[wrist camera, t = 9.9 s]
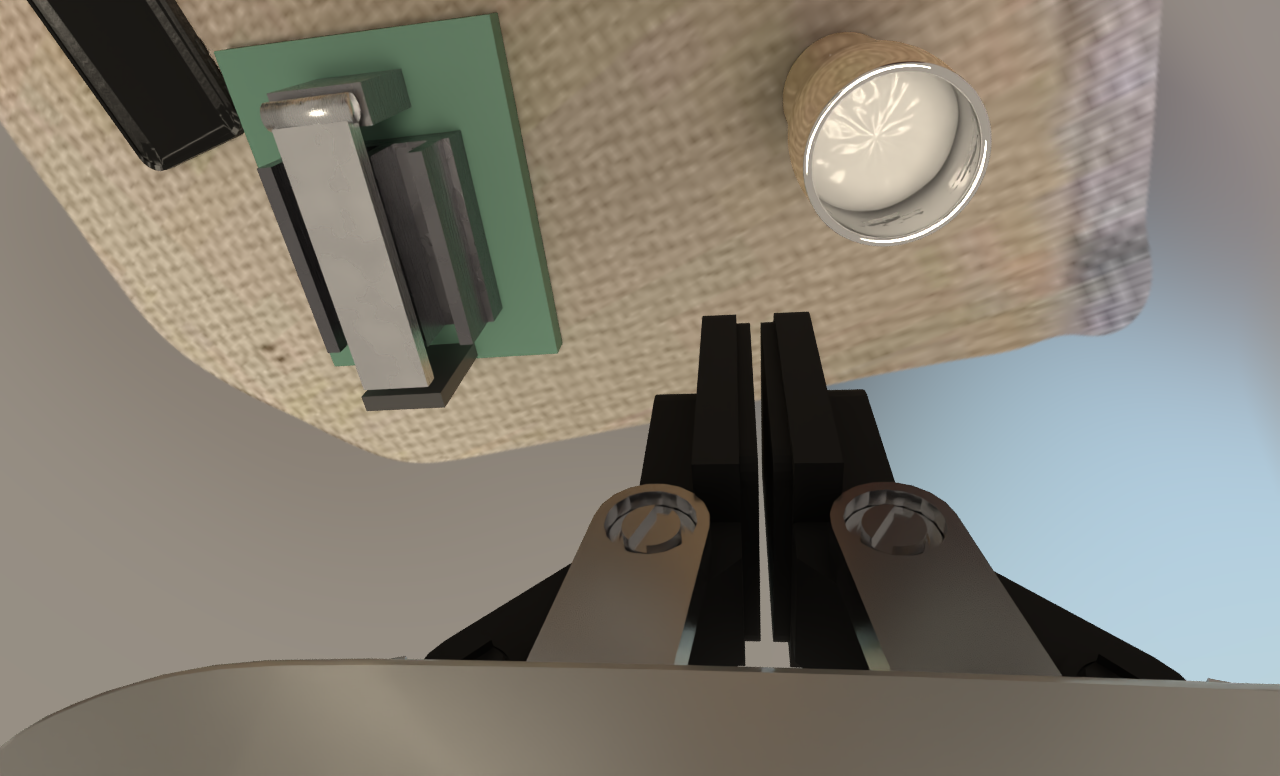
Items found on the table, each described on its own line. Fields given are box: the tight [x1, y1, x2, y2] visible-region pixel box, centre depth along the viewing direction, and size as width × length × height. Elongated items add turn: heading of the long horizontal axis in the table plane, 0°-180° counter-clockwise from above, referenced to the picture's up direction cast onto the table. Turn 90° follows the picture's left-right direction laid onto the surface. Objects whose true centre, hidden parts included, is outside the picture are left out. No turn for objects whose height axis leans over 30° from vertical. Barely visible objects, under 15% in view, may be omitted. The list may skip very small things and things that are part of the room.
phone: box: [27, 0, 244, 171], centre depth 40 cm, size 8×1×15 cm
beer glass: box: [783, 32, 991, 246], centre depth 32 cm, size 7×7×15 cm
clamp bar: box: [260, 92, 434, 390], centre depth 38 cm, size 16×4×1 cm, turn 7°
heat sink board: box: [214, 13, 562, 411], centre depth 41 cm, size 20×16×8 cm
